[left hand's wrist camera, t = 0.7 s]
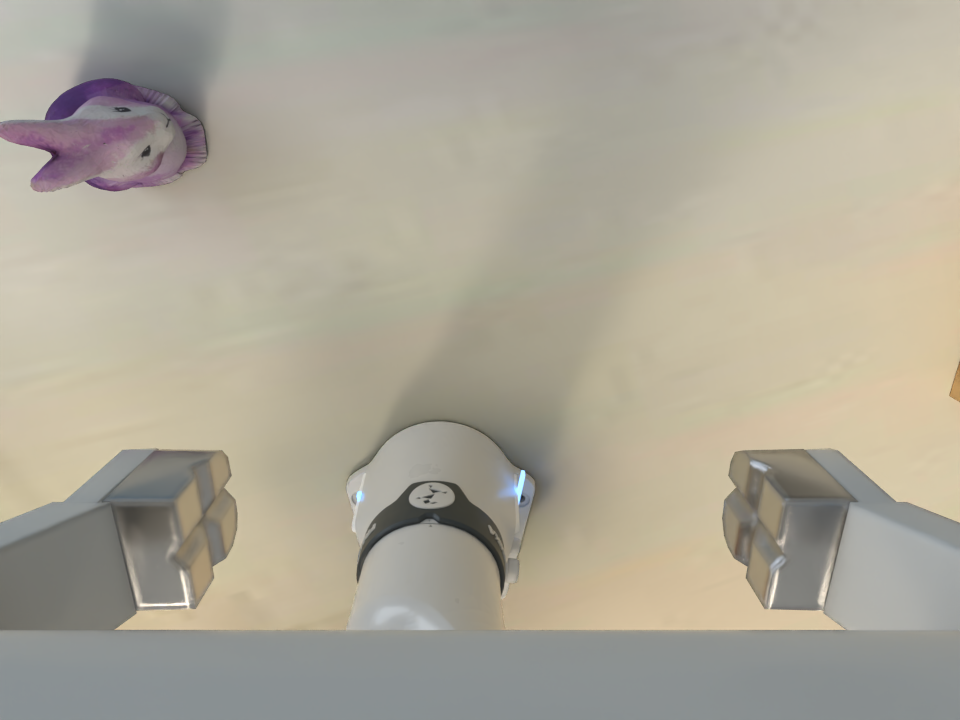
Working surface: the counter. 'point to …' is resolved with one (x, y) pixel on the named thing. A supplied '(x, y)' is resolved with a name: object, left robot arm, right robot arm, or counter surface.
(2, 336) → the counter surface
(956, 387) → the bar
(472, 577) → the left robot arm
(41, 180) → the figurine
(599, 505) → the counter surface
